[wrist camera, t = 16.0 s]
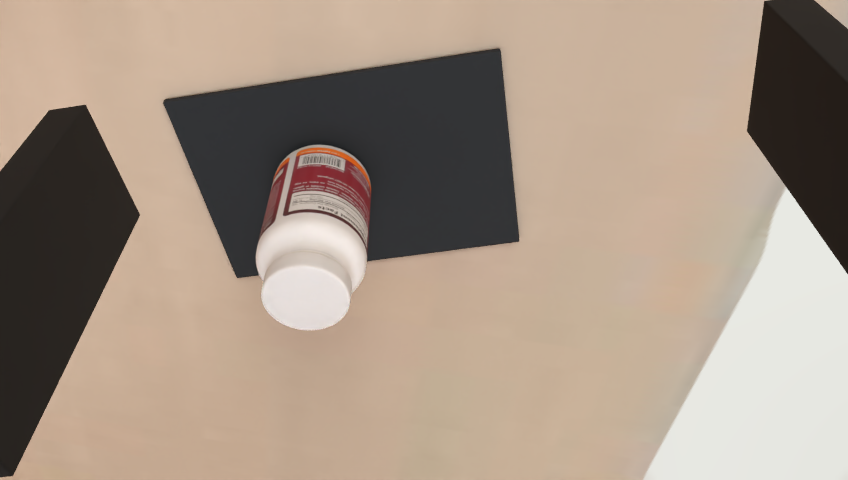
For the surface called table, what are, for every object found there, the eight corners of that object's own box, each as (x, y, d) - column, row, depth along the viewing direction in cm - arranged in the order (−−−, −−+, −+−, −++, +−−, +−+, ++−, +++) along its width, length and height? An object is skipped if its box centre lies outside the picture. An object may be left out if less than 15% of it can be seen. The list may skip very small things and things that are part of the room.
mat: (237, 274, 52) (236, 278, 52) (164, 99, 44) (162, 102, 43) (518, 237, 51) (519, 241, 50) (500, 47, 42) (500, 51, 42)
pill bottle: (315, 235, 50) (295, 357, 41) (254, 171, 47) (219, 288, 38) (391, 193, 48) (387, 312, 39) (333, 123, 44) (314, 236, 36)
